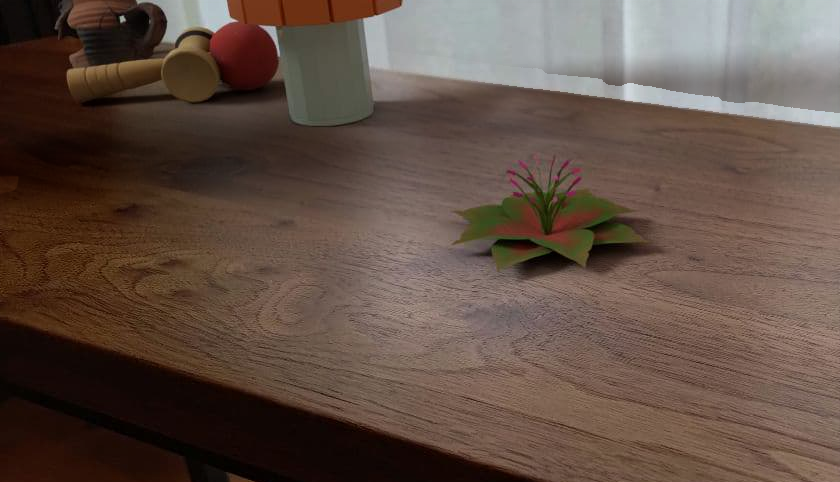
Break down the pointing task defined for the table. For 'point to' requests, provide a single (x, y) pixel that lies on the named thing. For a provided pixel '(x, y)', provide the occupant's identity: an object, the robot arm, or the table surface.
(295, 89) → the cup
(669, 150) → the table surface
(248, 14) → the ring
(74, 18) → the pottery mug
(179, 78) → the kendama
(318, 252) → the table surface
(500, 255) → the lily flower
